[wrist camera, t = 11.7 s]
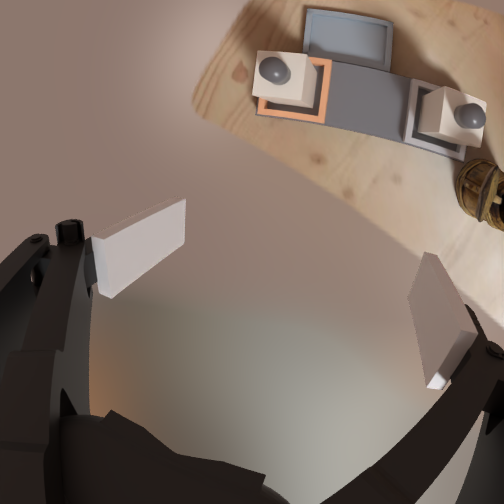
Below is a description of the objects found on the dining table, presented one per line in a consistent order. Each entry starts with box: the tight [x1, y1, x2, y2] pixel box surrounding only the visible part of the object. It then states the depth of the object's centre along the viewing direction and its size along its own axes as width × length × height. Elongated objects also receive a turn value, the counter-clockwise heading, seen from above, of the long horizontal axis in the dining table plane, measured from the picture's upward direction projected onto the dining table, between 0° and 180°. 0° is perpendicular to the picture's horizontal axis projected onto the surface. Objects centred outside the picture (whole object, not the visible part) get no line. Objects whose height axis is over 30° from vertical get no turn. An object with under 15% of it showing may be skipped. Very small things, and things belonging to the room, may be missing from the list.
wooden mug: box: [456, 159, 504, 232], centre depth 26 cm, size 9×14×18 cm, turn 78°
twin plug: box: [417, 86, 486, 148], centre depth 24 cm, size 5×5×13 cm
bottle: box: [252, 51, 317, 108], centre depth 29 cm, size 5×5×13 cm
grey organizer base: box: [255, 57, 467, 163], centre depth 33 cm, size 29×9×4 cm, turn 84°
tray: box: [302, 8, 393, 73], centre depth 31 cm, size 12×8×1 cm, turn 84°
